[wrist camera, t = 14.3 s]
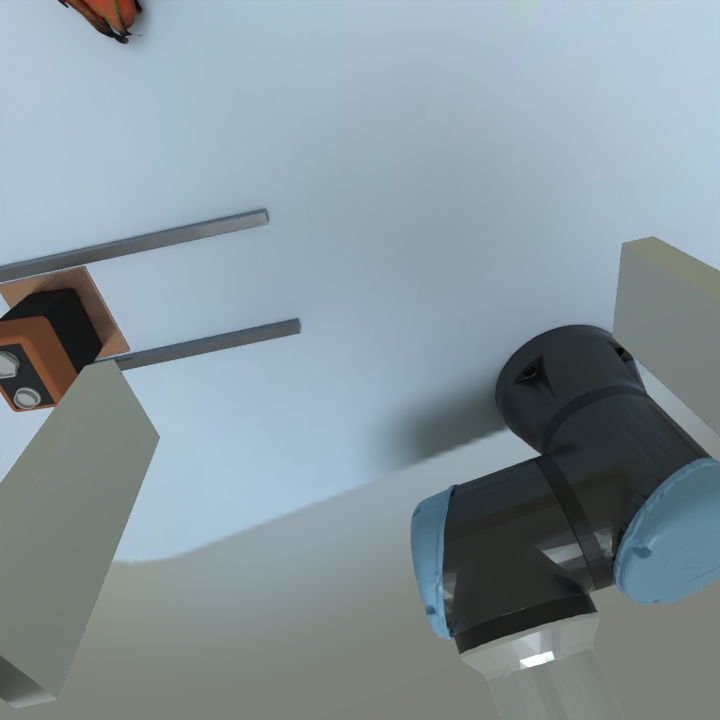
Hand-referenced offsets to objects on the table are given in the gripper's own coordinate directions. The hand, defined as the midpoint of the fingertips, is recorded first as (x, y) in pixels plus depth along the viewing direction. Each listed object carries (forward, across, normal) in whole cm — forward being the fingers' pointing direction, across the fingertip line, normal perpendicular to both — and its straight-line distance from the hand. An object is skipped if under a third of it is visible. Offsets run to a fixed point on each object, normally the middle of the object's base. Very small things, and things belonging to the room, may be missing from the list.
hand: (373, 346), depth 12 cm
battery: (+31, +28, +9) cm, 43 cm away
